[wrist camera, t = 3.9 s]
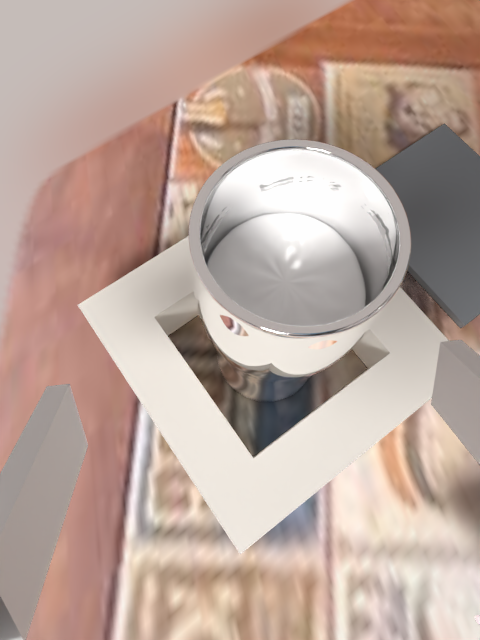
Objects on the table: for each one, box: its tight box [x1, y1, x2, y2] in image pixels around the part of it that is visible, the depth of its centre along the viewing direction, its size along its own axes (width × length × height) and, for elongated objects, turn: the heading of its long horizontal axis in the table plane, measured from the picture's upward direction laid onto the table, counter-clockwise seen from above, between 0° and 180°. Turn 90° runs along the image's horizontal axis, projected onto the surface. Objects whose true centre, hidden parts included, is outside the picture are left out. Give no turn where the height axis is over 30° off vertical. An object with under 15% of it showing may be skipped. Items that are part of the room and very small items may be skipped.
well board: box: [78, 236, 449, 554], centre depth 25 cm, size 15×15×4 cm
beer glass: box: [189, 139, 411, 402], centre depth 20 cm, size 7×7×15 cm
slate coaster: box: [376, 124, 480, 328], centre depth 30 cm, size 10×12×1 cm
